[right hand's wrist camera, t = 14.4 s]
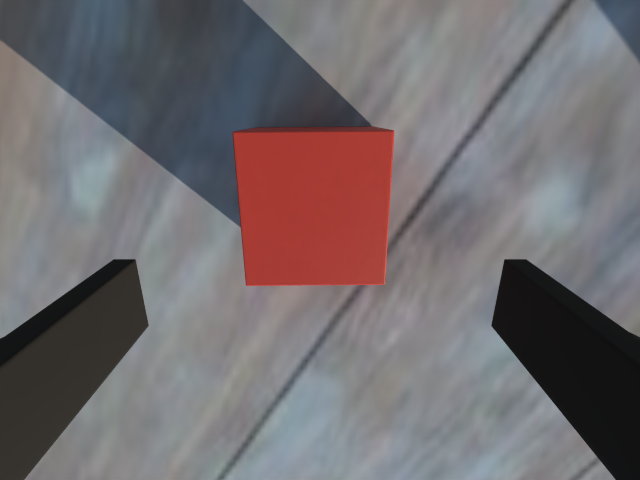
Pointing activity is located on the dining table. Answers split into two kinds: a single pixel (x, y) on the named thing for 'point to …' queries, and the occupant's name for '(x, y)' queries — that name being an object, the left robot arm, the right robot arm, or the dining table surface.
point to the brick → (314, 204)
